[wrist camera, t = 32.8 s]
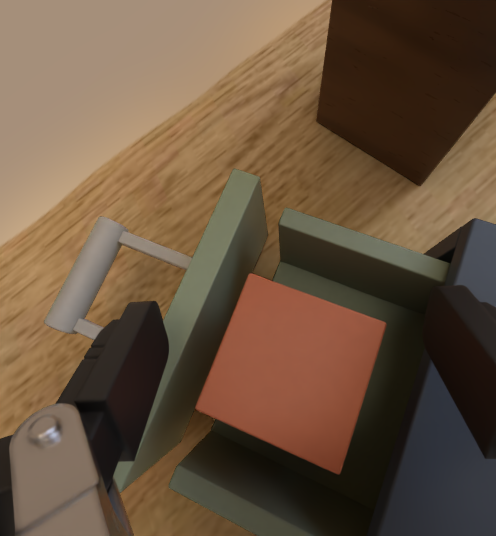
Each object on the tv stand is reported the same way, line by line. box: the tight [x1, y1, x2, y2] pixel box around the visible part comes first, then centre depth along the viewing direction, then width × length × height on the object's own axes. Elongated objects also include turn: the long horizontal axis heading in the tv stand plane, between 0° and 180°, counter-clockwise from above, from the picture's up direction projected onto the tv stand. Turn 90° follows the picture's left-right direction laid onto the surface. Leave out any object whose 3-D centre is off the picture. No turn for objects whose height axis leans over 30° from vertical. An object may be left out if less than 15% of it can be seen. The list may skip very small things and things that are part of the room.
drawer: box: [44, 169, 451, 536], centre depth 16 cm, size 19×12×7 cm, turn 67°
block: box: [195, 273, 387, 474], centre depth 14 cm, size 4×4×8 cm
